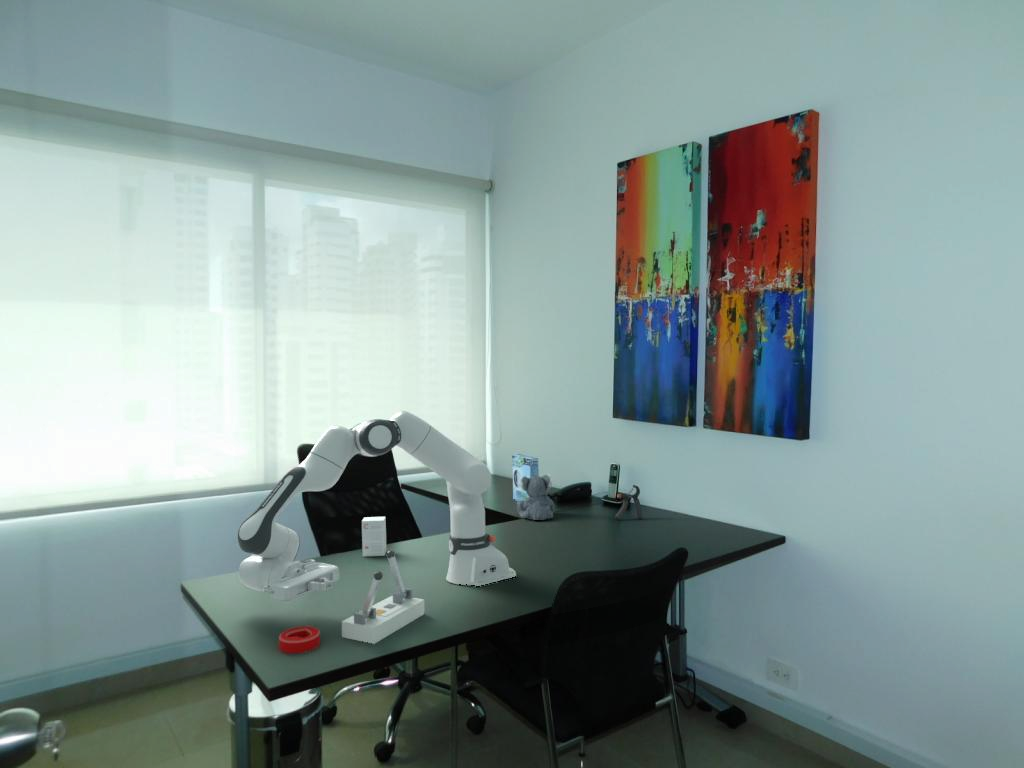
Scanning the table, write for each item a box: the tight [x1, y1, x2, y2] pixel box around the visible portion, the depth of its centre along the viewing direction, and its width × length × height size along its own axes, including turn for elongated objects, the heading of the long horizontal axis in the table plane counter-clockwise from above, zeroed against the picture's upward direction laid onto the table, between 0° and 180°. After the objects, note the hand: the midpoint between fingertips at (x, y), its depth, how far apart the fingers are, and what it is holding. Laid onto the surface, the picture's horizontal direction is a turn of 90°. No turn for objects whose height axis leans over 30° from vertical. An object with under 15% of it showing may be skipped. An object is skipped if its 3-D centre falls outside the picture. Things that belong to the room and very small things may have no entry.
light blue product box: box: [511, 453, 540, 502], centre depth 334 cm, size 20×5×23 cm, turn 27°
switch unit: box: [341, 587, 425, 645], centre depth 177 cm, size 22×10×6 cm, turn 153°
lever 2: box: [386, 550, 409, 599], centre depth 184 cm, size 3×2×13 cm
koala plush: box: [516, 473, 556, 521], centre depth 300 cm, size 17×18×20 cm
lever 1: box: [359, 570, 384, 619], centre depth 168 cm, size 3×2×13 cm
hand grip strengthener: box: [614, 484, 643, 520], centre depth 294 cm, size 2×12×15 cm, turn 101°
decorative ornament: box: [278, 625, 321, 654], centre depth 164 cm, size 10×10×3 cm
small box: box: [361, 516, 387, 557], centre depth 244 cm, size 8×6×13 cm
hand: (328, 586), depth 174 cm, fingers closed
